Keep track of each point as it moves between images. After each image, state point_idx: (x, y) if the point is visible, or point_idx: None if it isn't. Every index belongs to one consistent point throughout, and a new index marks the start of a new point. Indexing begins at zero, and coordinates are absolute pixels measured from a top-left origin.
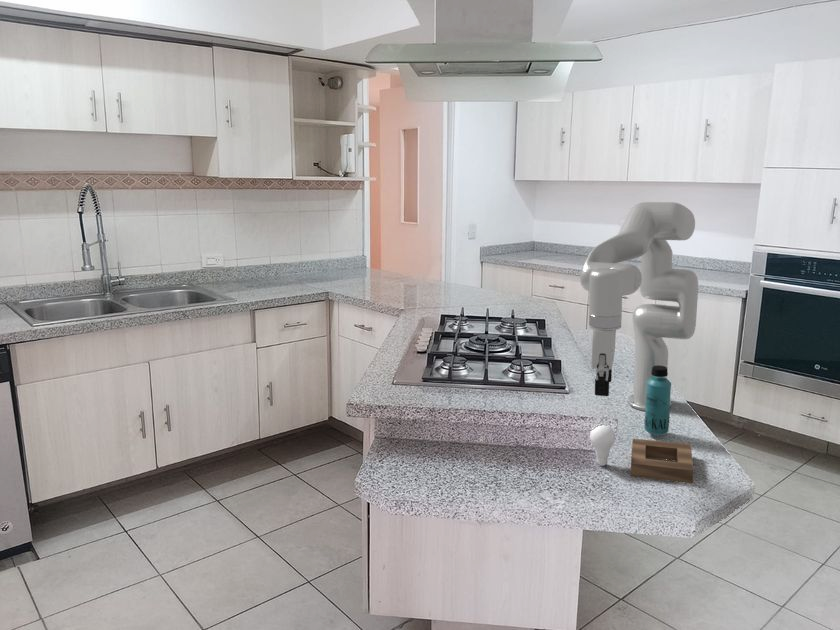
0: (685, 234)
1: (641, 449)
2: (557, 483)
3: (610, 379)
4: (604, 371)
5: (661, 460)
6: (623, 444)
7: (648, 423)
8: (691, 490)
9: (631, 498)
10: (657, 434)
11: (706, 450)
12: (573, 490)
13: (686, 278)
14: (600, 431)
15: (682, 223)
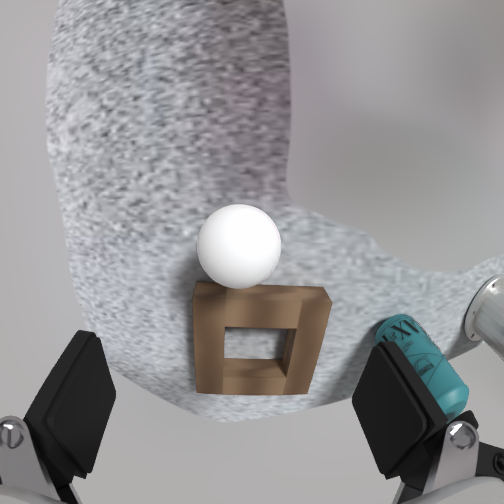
0: None
1: (273, 320)
2: (128, 122)
3: (355, 411)
4: (391, 427)
5: (223, 353)
6: (353, 268)
7: (394, 332)
8: (174, 369)
9: (110, 278)
10: (375, 336)
11: (325, 393)
12: (106, 162)
13: None
14: (208, 250)
15: None
